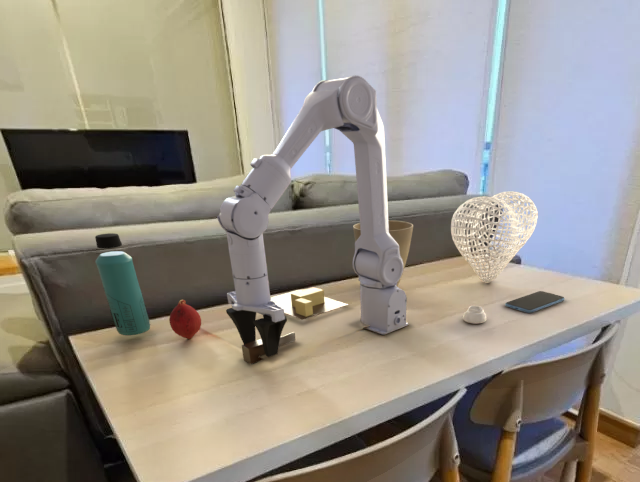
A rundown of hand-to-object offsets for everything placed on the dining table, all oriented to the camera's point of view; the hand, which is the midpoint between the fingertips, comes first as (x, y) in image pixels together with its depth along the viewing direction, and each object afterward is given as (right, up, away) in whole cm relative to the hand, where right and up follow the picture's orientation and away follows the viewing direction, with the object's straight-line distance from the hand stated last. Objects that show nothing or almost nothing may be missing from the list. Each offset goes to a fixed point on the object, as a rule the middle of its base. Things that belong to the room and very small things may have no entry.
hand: (260, 349), depth 84 cm
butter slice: (+5, +10, +18) cm, 21 cm away
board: (+4, +13, +25) cm, 29 cm away
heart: (+52, +23, +42) cm, 71 cm away
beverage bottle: (-28, +4, +10) cm, 30 cm away
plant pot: (+23, +20, +38) cm, 49 cm away
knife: (+2, 0, +3) cm, 3 cm away
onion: (-16, +3, +9) cm, 19 cm away
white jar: (+43, +8, +16) cm, 47 cm away
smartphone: (+60, +14, +26) cm, 67 cm away
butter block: (+6, +13, +24) cm, 28 cm away
